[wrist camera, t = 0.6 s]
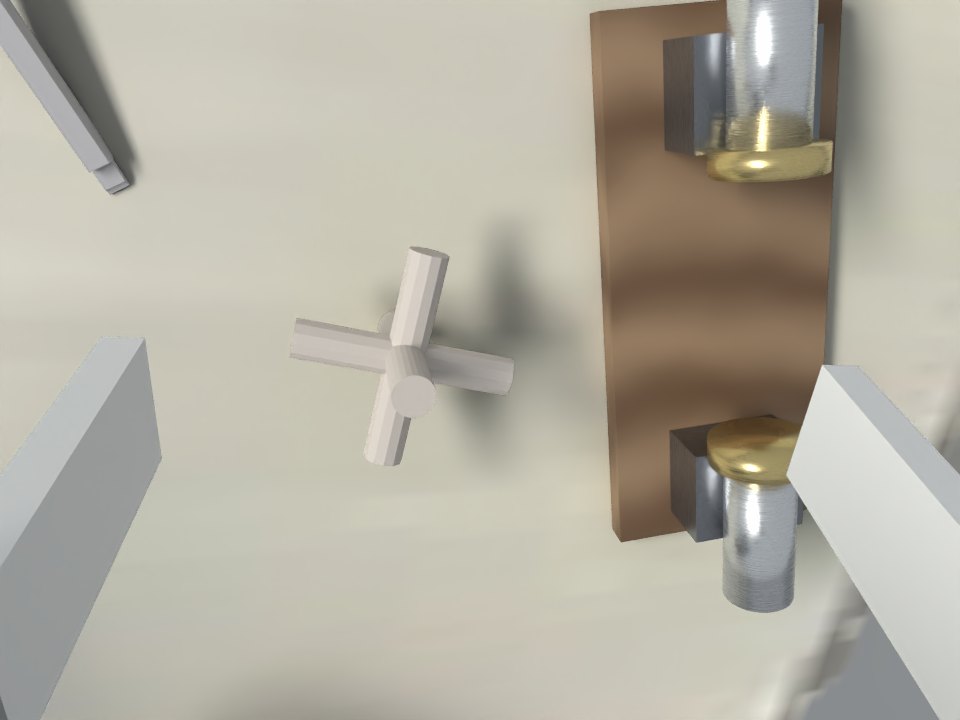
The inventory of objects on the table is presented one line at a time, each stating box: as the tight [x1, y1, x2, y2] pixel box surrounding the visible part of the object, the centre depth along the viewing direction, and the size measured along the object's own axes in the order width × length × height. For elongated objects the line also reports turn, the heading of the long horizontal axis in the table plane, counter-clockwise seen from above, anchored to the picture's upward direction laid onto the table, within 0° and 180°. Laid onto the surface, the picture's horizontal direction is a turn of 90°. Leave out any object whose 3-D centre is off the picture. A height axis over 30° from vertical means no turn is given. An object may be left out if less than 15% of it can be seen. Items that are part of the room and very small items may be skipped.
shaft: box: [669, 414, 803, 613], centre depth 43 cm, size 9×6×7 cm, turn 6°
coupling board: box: [590, 0, 842, 542], centre depth 43 cm, size 28×12×2 cm, turn 6°
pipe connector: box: [289, 247, 514, 466], centre depth 37 cm, size 10×10×10 cm
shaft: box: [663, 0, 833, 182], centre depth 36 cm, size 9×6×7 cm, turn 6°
